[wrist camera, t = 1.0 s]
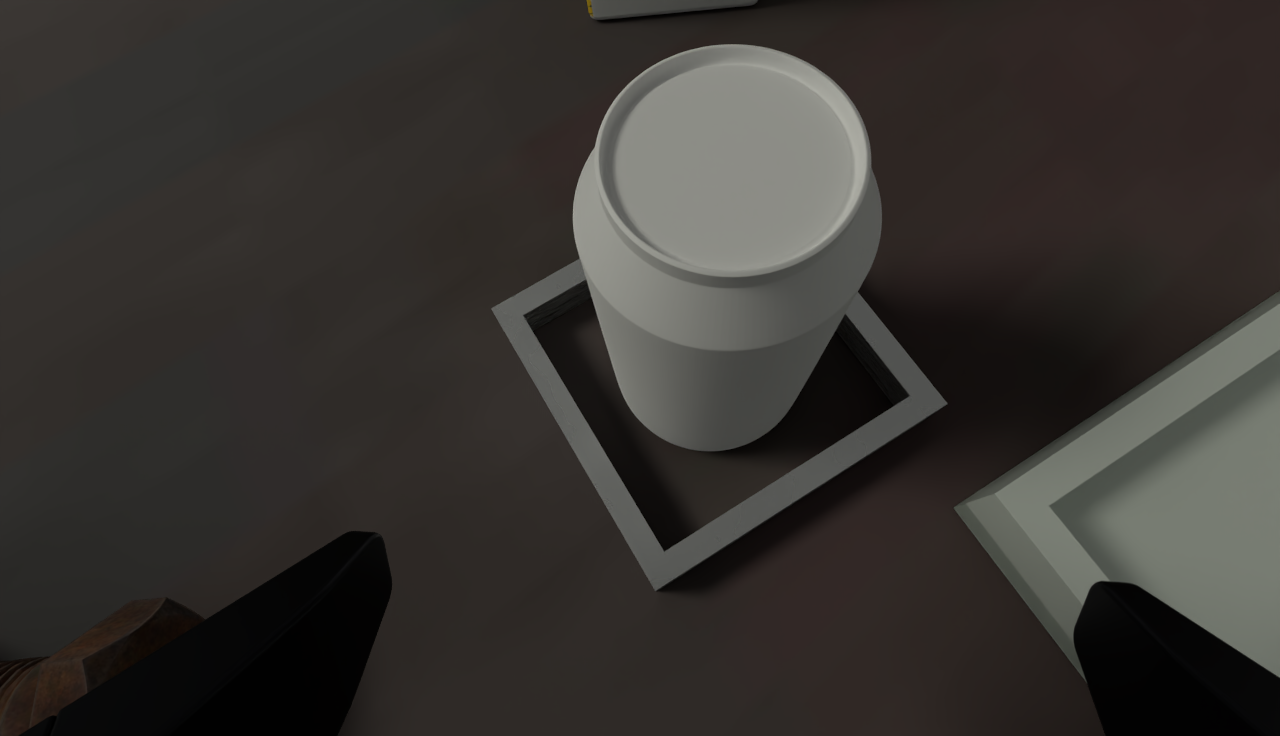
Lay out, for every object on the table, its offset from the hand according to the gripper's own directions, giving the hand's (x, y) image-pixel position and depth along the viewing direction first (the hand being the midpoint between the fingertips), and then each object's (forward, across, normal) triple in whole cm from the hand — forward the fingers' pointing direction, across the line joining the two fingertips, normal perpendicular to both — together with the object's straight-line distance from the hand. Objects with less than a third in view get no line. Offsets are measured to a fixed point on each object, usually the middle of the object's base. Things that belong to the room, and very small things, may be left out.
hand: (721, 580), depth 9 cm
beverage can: (+14, 0, +4) cm, 15 cm away
